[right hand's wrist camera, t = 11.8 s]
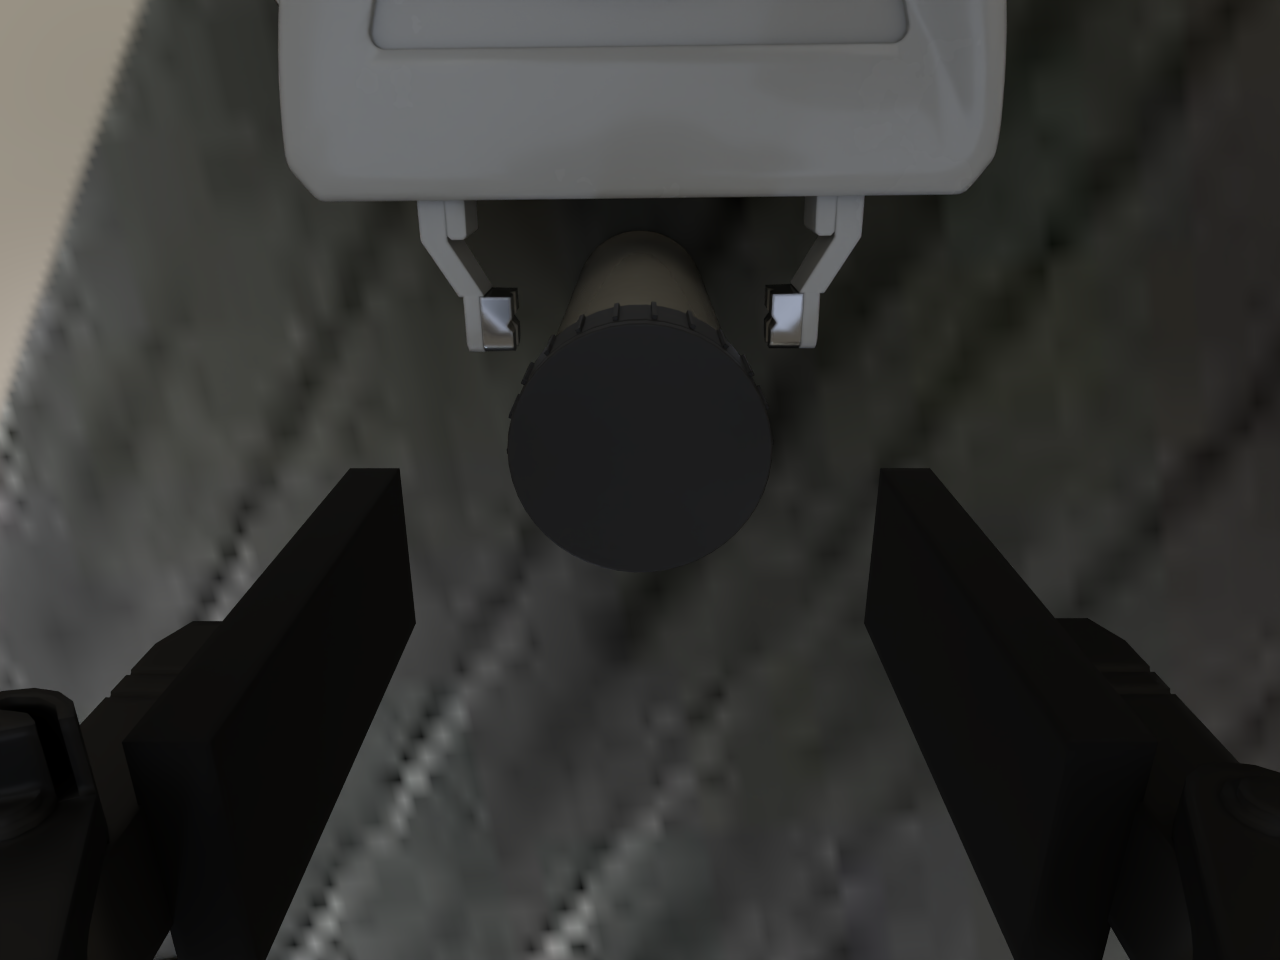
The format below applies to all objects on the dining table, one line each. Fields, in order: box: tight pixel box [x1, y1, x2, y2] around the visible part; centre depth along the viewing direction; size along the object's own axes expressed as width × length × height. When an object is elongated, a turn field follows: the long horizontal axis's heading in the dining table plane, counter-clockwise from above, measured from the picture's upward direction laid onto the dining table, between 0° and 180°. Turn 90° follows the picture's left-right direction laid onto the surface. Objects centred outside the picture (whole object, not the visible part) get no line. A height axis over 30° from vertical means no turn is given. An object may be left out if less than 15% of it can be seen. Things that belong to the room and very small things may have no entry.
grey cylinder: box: [556, 231, 722, 336], centre depth 27 cm, size 5×5×18 cm
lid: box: [507, 301, 773, 572], centre depth 19 cm, size 6×6×2 cm
